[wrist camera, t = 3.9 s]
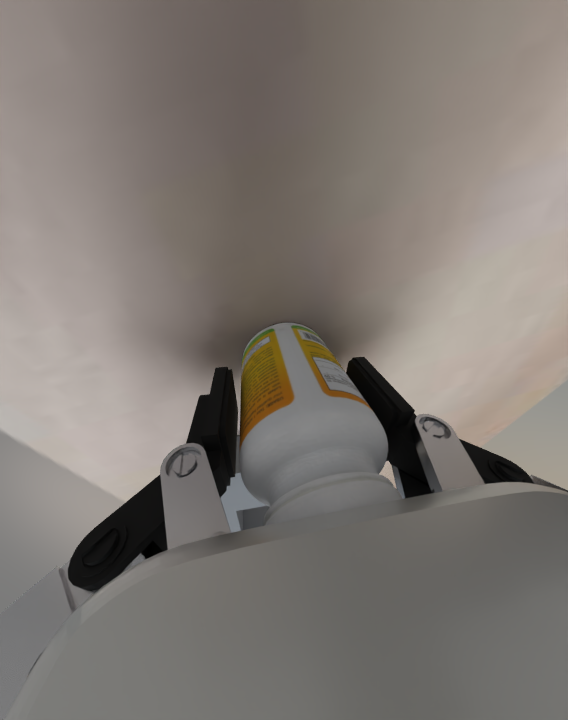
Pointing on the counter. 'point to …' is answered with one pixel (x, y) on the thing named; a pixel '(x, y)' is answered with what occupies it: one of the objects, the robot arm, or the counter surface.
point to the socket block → (242, 503)
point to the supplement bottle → (306, 429)
